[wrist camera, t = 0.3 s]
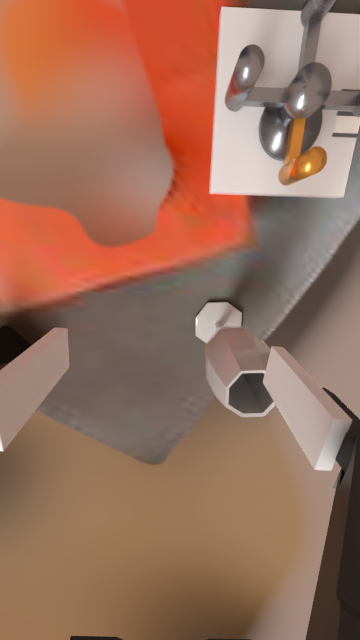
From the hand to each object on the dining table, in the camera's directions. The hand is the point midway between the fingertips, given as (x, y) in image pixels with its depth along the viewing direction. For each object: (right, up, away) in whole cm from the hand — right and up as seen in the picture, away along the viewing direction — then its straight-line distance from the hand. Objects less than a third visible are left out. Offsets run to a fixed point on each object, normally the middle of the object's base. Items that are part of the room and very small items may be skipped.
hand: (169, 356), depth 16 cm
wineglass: (+7, +2, +29) cm, 30 cm away
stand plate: (+15, +31, +19) cm, 39 cm away
